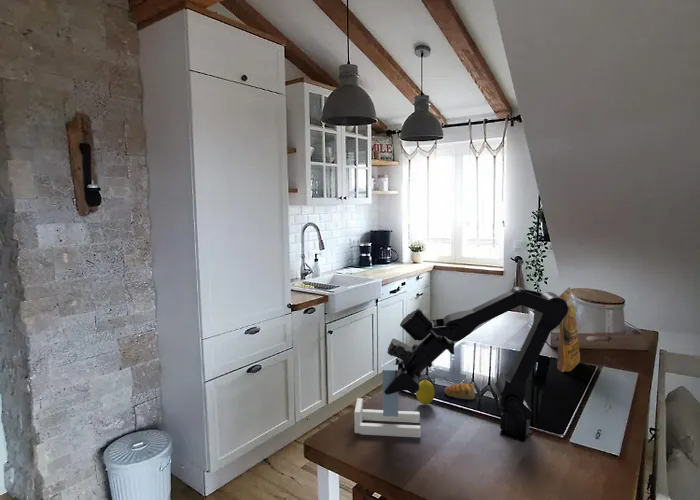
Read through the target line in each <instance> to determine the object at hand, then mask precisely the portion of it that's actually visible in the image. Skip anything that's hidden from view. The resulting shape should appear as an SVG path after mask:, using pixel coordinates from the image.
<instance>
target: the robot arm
mask: <svg viewBox="0 0 700 500" xmlns="http://www.w3.org/2000/svg"><path fill="white" fill-rule="evenodd" d="M559 296H560V295H557V294H556V293H554V292H550V291H548V292H547V291H546V292H544V293H542V292H539V291H535V290H530V289H525V288H523V287H521V286H513V287H512V288H511V289H510V290H508V291H506V292H504V293H502V294H499V295H497V296H496V297H494V298H492V299H490V300H488V301H486V302H484V303H481V304H479V305H478V306H475V307H473V308H471V309H468V310H461V311H456V312H453V313H450V314H447V315H445V316H444V317H442V318H441V317H439V318H431V319H429V317H428V316H426V314H425V313H424V312H423V310H422V309H420V308H419V307H418V308H416V310H413V311H412V312H410V313H408V314H407V315H406V316H405V317H404V318H403V319H402V320H401V322H400V323H399V327H401V329H403V330H404V331H405V332H406V333H407V334H408V335H409V336H410V337H411V338H412V339H413V340H414V341H419V342H420V341H421V342H420V343H418V344H417V343H416V344H413V345H412V346H410V345H408V344H407V343H404V342H402V341H400V340H398V339H396V338H391V341H390V344H388V345H389V346H388V348H387V351H386V352H387V354H388V355H389V356H391V357H395V365H398V371H397V370H395V378H394V380H393V381H392V382H391V383H390V385H389V386H388V387H387V389H386V390H385V391H384V393H385V394H386V395H389V394H392V393H396V392H398V393H400V392H403V391H408V392H409V393H410V394H412V396H413V395H416V392H417V391H419V382H420V381H419V378H420V377H421V376H422V372H424V370H425V369H427V368H432V366H433V362H434V361H436V359H437V358H439V357H440V355H442V354H443V353H444V352H445V351H446V350H447V351H448V352H449V353H450V354H451V355H454V354H455V346H456V343H457V342H460V341H462V340H463V339H465V338H466V337H467V336H469V335H470V334H471V333H472V332H473V331H474V330H475V329H476V328H478V327H479V326H481V325H482V324H484V323H487V322H488V321H491V320H492V319H495V318H497V317H499V316H502V315H503V314H504V313H508V312H510V311H511V310H514V309H515V308H518V307H520V306H523V307H525V308H528V309H531V310H533V311H534V313H533V321H532V325H531V327H530V329H529V330H528V332H527V336H526V338H525V340H524V342H523V343H522V346H521V348H520V350H519V352H518V354H517V356H516V359H515V360H514V363H513V364H512V366H511V369H510V370H509V371H508V372H507V373H506V374H505V373H504V372H500V373H499V376H498V379H497V381H496V382H495V383H494V386H495V394H496V396H497V399H498V401H499V403H500V404H501V407H502V408H503V409H502V413H500V419H499V421H500V423H499V428H500V431H499V435H501V436H504V437H506V438H510V439H512V440H516V441H519V442H522V443H524V442H526V441H527V439H528V438H529V437H530V435H531V433H532V429H530V425H531V424H530V423H531V422H530V421H531V418H532V415H533V411H532V409H531V407H530V405H529V404H528V403H527V401H526V394H527V387H528V385H527V384H528V380H529V378H530V375H531V373H532V371H533V369H534V367H535V365H536V363H537V361H538V359H539V357H540V355H541V352H542V351H543V348H544V347H545V344H546V342H547V340H548V338H549V335H550V334H551V332H552V331H554V330H555V329H556V328H558V327H559V325H560V323H561V322H562V320H563V319H564V318H565V316H566V315H567V313H568V305H567V303H566V302H565V301H564V300H563V299H562V298H560V297H559Z"/></svg>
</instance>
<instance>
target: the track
mask: <svg viewBox="0 0 700 500" xmlns="http://www.w3.org/2000/svg"><path fill="white" fill-rule="evenodd" d="M363 403H364V399H363V397H362V398H361V397H357V398H356V402H355V406H354V407H355V409H354V416H353V417H354V419H353V420H354V434H360V435H363V436H364V435H366V436H382V437H383V436H386V437H387V436H388V437H405V438H421V433H422V430H421V425H417V424H416V425H413V424H395V423H397V422H398V423H420V422H421V421H420V416H421V415H420V411H413V410H412V411H410V410H398V417H393V416H383V409H366V408H365V409H364V404H363ZM363 421H370V422H363ZM371 421H374V422H375V423H373V422H371ZM377 422H393V423H377ZM394 422H395V423H394Z"/></svg>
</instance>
